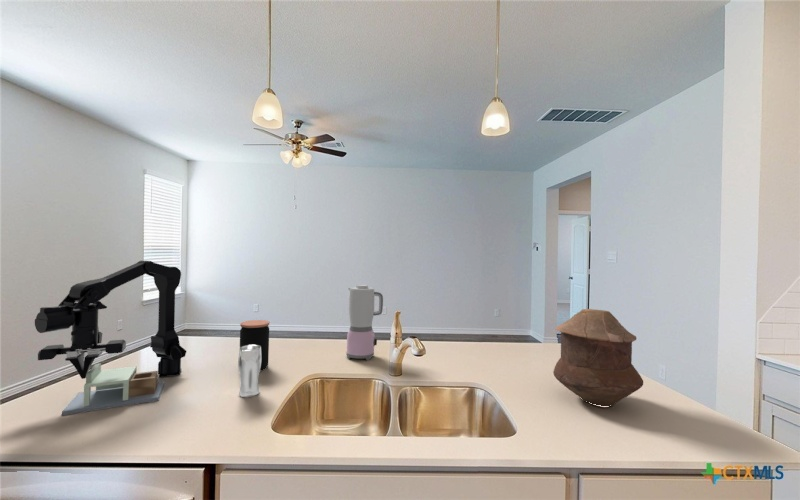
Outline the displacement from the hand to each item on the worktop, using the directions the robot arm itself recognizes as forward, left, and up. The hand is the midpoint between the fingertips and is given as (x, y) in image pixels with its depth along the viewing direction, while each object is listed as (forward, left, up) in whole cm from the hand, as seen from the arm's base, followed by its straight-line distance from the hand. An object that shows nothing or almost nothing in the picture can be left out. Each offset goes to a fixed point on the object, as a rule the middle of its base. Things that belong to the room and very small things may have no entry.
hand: (83, 378), depth 103 cm
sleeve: (-14, 0, -6) cm, 16 cm away
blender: (-93, -8, -8) cm, 94 cm away
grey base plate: (-8, 0, -7) cm, 11 cm away
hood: (-7, 0, -6) cm, 9 cm away
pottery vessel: (-144, +66, -8) cm, 159 cm away
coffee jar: (-48, -12, -8) cm, 50 cm away
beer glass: (-44, +13, -8) cm, 47 cm away
